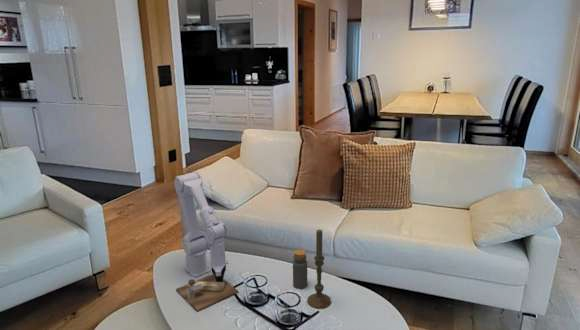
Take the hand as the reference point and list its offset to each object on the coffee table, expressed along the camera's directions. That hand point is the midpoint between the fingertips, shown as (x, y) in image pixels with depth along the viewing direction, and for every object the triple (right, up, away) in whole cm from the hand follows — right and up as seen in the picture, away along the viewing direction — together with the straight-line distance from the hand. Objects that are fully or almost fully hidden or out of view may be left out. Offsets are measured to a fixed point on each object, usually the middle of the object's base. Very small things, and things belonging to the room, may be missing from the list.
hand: (219, 282), depth 158 cm
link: (-5, -1, -3) cm, 6 cm away
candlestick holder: (+40, -4, -10) cm, 41 cm away
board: (-4, -3, -3) cm, 6 cm away
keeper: (-8, -3, -7) cm, 11 cm away
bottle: (+33, -1, +1) cm, 33 cm away
